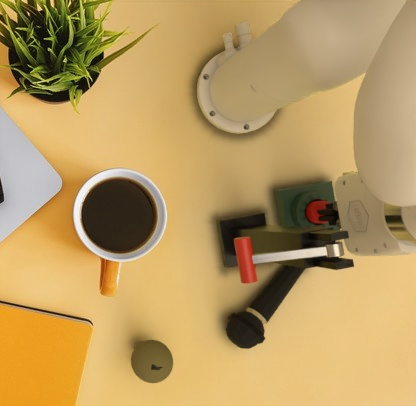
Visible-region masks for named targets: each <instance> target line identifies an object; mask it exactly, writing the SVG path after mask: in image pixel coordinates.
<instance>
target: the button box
mask: <svg viewBox="0 0 416 406" xmlns="http://www.w3.org/2000/svg"><path fill="white" fill-rule="evenodd" d="M273 194H274V200H275V205H276V211H277V217H278V223H279V226H308V227H333V229H334V230H341V229H340V228H338V227H337V225H329V222H327V223H313V222H311V221H310V220H309V219H308V218H307V216H306V208H307V206H308V205H309V204H310V203H311V202H313V201H327V202H328V203H333V202H335V201H336V196H335V190H334V185H333V181H332V180H329V181H321V182H316V183H310V184H309V183H308V184H304V185H297V186H292V187H285V188H281V189H275V190H273Z"/></svg>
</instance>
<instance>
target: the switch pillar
mask: <svg viewBox="0 0 416 406" xmlns="http://www.w3.org/2000/svg"><path fill="white" fill-rule="evenodd" d="M216 225H217V231H218V237H219V242H220V250H221V254H222V260H223V266H224V268H233V267H234V268H235V267H238V261H237V255H236V250H235V244H234V239H235V238H239V237H250V238H251V243H252V249H253V254H257V253H265V252H274V251H282V250H290V249H299V248H307V247H315V246H323V245H324V244H325V243H329V242H337V241H342V240H344V239H347V238H349V234H348V231H343V230H342V229H340V230H334V229H333V227H308V226H280V224H279V225H277V224H275V225H273V224H267V220H266V215H265V213H264V212H260V213H253V214H248V215H241V216H236V217H230V218H225V219H220V220H216ZM271 263H273V264H279V265H283V266H286V265H289V266H294V267H300V268H305V270H307V269H311V268H321V269H327V270H328V269H330V270H334V271H338V270H344V269H345V270H346V269H349V268H354V267H355V263H354V259H353V258H345V257H326V256H319V257H311V258H302V259H293V260H285V261H276V262H271Z"/></svg>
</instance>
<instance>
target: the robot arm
mask: <svg viewBox="0 0 416 406" xmlns="http://www.w3.org/2000/svg"><path fill="white" fill-rule="evenodd" d="M250 26H251V25H250V22H249V21H242V22H239V23H237V24H235V32H236V38H237V39H238V46H237V47H236V48H235V46H234V37H233V33H232V32H226V33H223V34H222V36H221V37H222V43H223V46H224V50H223V51H221V52H219V53H218V54H216V55H215V56H213V57H212V58H211V59H210V60H209V61H208V62H206V64H205V65H204V67H203V68H202V69H201V71H200V73H199V76H198V79H197V83H196V97H197V98H196V99H197V103H198V106H199V108H200V111H201V112H202V114H203V116H204V117H205V118H206V119H207V121H208V122H209V123H210V124H212V125H213V126H214V127H216V129H219V130H221V131H222V132H225V133H229V134H238V135H240V134H247V133H250V132H254V131H256V130H258V129H261V128H262V127H264V126H265V125H266V124H268V123H269V122H270V120H271V119H272V118H273V117H274V115H275V114H276V112H277V110H280V109H282V108H285V107H287V106H290V105H293V104H294V103H297V102H300V101H302V100H304V99H305V98H308V97H310V96H313V95H315V94H319V93H322V92H328V91H332V90H335V89H338V88H339V87H342V86H344V85H347V84H348V83H350V82H352V81H354V80H356V79H357V78H359V77H362V76H363V75H364V76H363V78H362V80H361V84H360V86H359V88H358V92H357V95H356V99H355V102H354V109H353V123H352V125H353V126H352V127H353V129H352V144H353V145H352V146H353V147H352V148H353V149H352V150H353V157H354V162H355V166H356V170H357V171H355V170H351V171H346V172H343V173H342V174H341V176H339V177H337V178H336V180H335V184H334V195H335V202H333V203H327V204H325V206H326V209H320V210H317V213H318V214H319V215H322V216H319V218H318V219H319V221H328V222H329V225H337V227H338V228H340V230H343V231H348V234H349V238H347V239H343V242H344V243H343V244H344V246H345V248H346V250H347V251H348V253H349V254H351V255H353V256H356V257H400V256H407V255H412V254H416V0H299V1H297V2H296V3H294V4H293V5H292V6H291V7H289V8H288V9H287V10H286V11H284V13H283V14H282V15H281V17H280V18H279V19H278V20H276V21H275V22H274V23H273V24H272V25H270V26H269V27H268V28H267V29H266V30H264V31H263V32H261V34H259V35H258V36H257V37H255V38H254V39H252V36H251V35H252V32H251V27H250Z"/></svg>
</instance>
